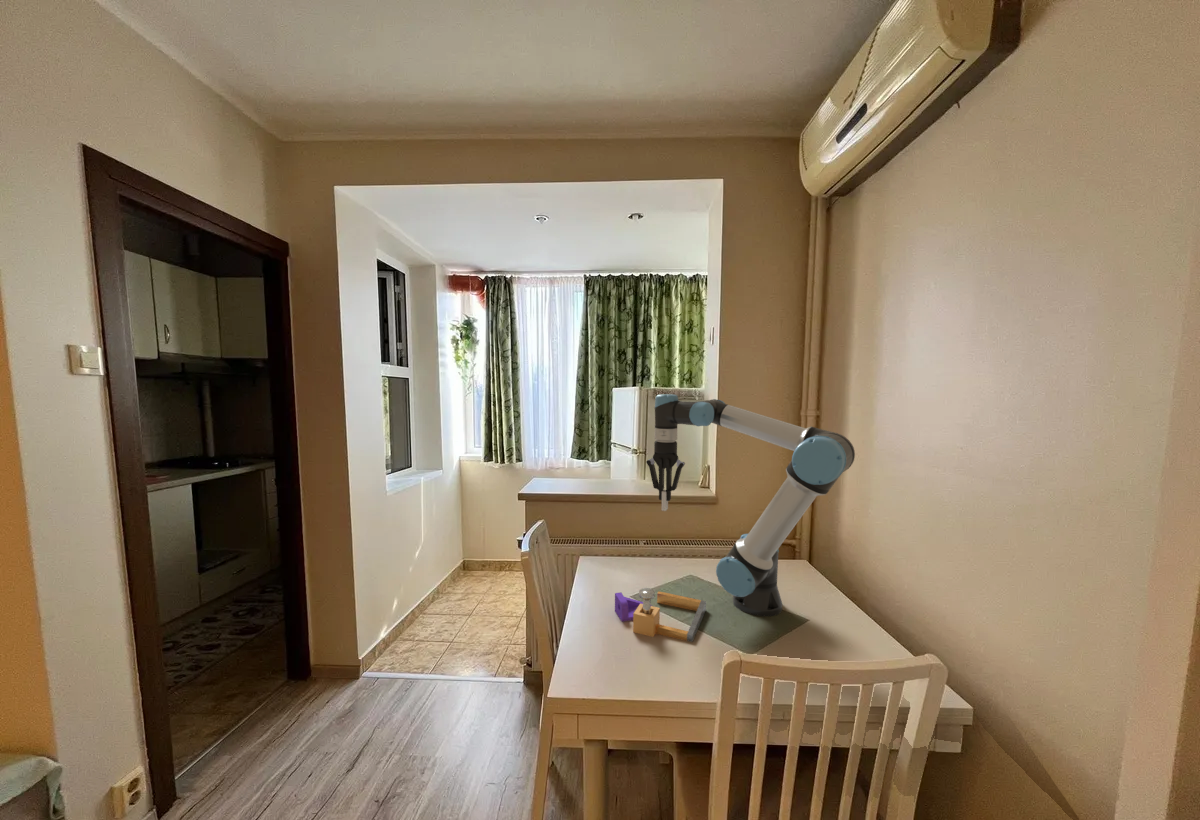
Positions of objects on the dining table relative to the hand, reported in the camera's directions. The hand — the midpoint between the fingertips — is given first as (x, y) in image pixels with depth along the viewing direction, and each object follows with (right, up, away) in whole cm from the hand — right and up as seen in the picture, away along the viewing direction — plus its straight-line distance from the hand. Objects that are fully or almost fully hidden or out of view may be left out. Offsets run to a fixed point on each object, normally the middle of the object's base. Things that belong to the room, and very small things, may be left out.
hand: (664, 509), depth 148 cm
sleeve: (-8, -31, -21) cm, 39 cm away
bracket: (-11, -31, -12) cm, 35 cm away
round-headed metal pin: (-8, -28, -21) cm, 36 cm away
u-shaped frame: (0, -31, -15) cm, 34 cm away
